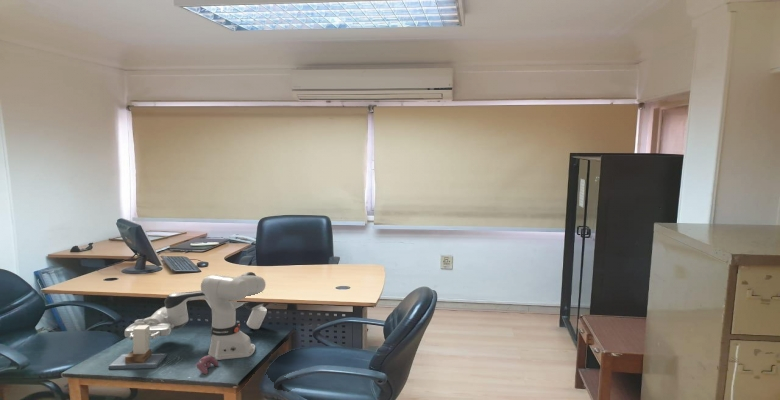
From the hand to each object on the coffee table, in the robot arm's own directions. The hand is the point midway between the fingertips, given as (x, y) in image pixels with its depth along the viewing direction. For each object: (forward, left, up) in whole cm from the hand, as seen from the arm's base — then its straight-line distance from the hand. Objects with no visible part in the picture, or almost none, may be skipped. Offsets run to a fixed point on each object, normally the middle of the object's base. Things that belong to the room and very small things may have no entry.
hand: (141, 338), depth 194 cm
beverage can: (-44, -40, -10) cm, 60 cm away
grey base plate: (0, +2, -11) cm, 11 cm away
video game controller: (-33, +11, -11) cm, 37 cm away
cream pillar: (0, +1, -6) cm, 6 cm away
